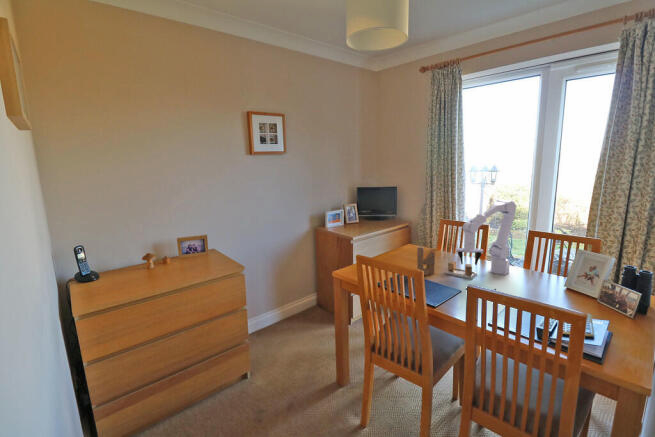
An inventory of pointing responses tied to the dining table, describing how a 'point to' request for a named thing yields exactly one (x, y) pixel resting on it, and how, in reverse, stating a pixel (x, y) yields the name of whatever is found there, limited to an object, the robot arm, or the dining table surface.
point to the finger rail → (458, 271)
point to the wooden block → (425, 261)
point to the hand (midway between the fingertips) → (468, 264)
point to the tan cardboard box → (468, 269)
